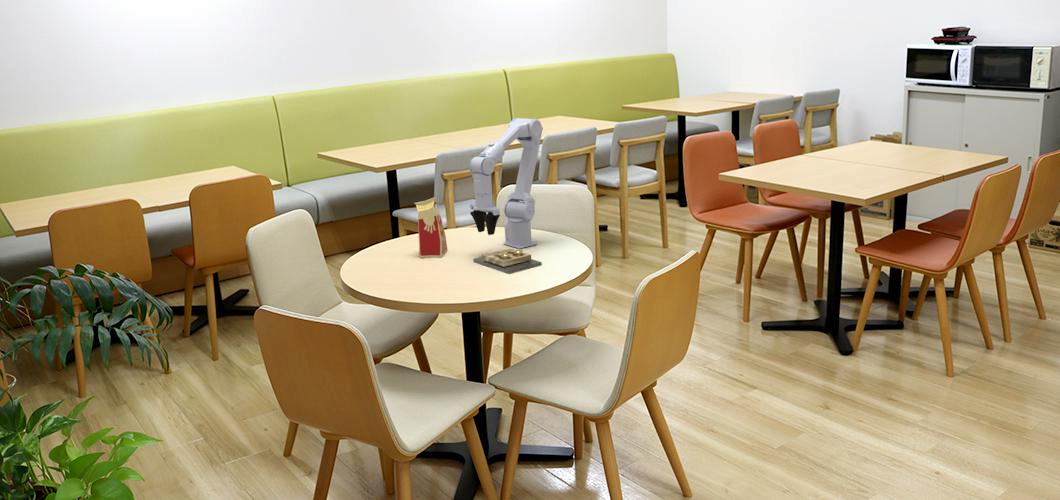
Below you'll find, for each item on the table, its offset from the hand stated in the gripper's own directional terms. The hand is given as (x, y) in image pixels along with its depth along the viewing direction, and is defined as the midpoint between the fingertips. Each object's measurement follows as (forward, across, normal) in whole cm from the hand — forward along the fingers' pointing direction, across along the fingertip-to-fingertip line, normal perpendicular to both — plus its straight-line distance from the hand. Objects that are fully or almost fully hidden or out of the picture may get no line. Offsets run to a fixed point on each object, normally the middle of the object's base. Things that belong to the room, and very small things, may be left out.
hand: (486, 233), depth 299 cm
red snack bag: (+9, -18, -11) cm, 23 cm away
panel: (+7, +11, 0) cm, 13 cm away
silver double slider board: (+8, +11, 0) cm, 14 cm away
